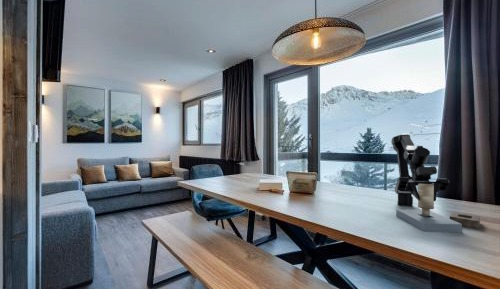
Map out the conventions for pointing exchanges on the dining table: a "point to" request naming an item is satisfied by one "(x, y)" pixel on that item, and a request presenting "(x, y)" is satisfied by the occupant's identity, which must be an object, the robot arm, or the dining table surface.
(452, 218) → the frame
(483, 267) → the dining table surface
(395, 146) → the robot arm
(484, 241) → the dining table surface
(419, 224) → the board
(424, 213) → the leg
